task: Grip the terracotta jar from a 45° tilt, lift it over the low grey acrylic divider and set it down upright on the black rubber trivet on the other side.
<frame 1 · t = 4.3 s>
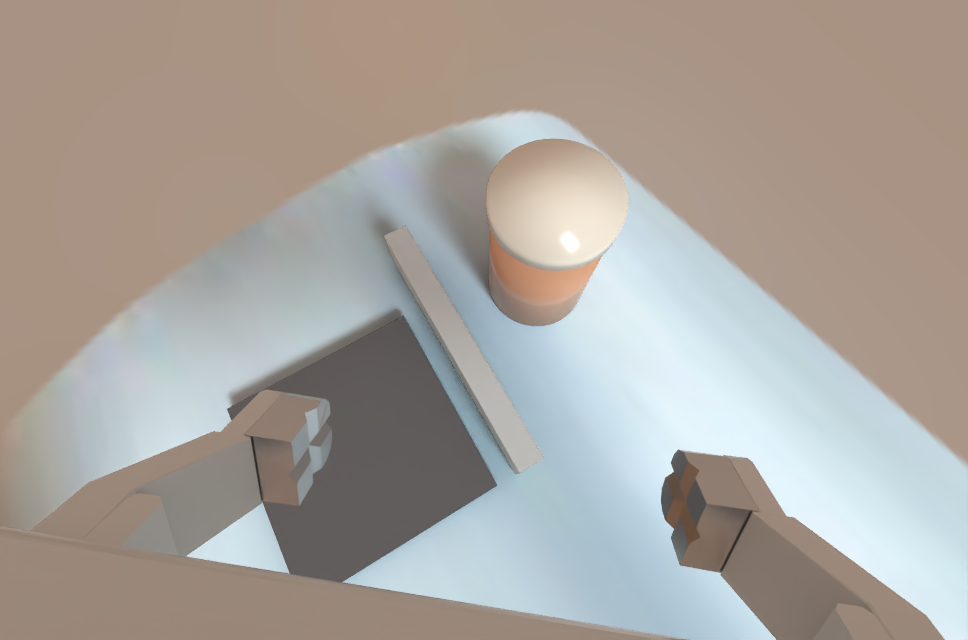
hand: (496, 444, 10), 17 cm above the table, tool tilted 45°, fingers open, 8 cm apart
trivet: (361, 446, 27), on the table
jar: (534, 282, 31), on the table
divider: (460, 355, 29), on the table
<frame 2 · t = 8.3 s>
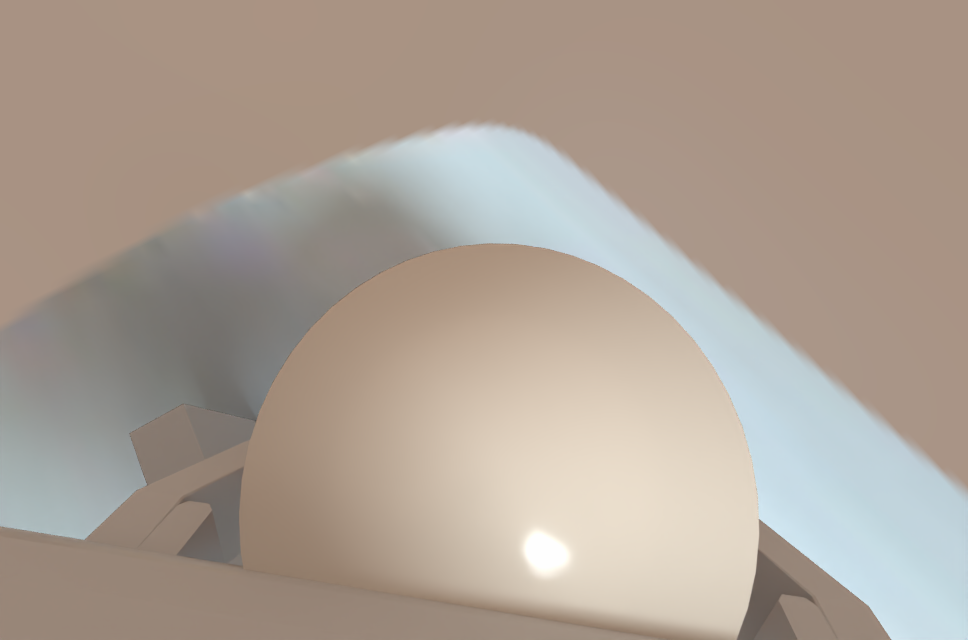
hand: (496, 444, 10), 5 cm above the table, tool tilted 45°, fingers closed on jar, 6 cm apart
jar: (490, 473, 15), on the table, touching gripper
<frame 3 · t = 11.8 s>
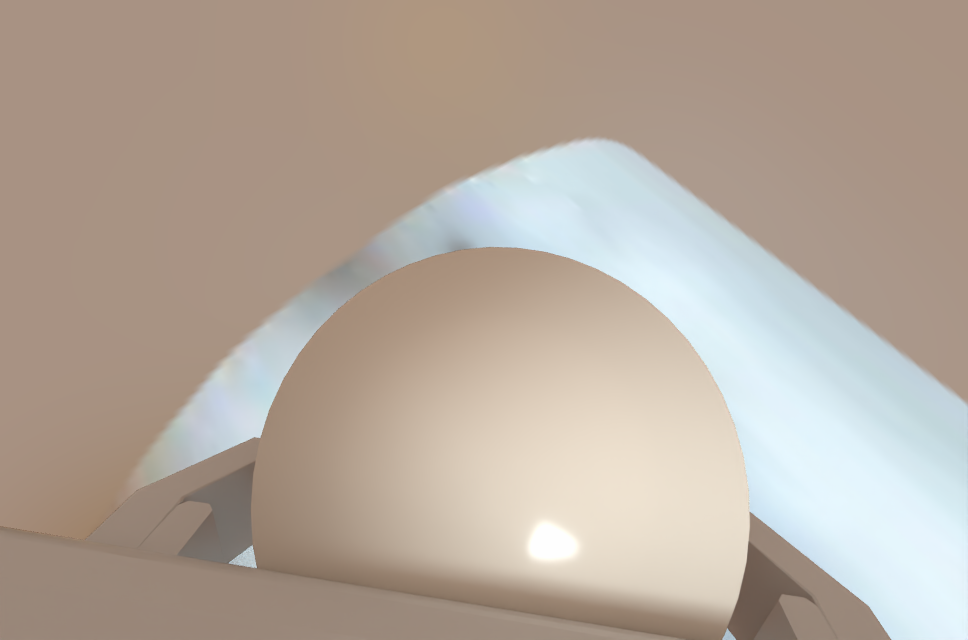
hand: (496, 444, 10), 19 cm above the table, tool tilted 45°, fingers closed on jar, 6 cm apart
jar: (491, 470, 16), point 14 cm above the table, touching gripper
when the fingers open (8 cm above the table, at t = 15.2 s): jar drops 1 cm, resting on trivet.
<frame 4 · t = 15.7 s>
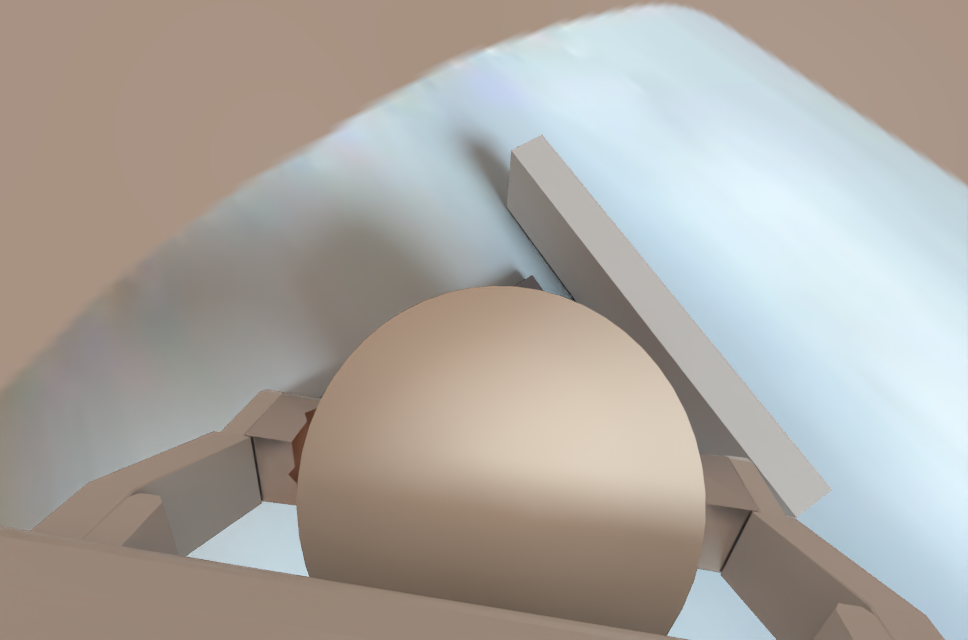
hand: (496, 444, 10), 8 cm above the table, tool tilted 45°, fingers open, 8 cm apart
jar: (492, 471, 17), point 1 cm above the table, touching trivet
divider: (618, 331, 20), on the table
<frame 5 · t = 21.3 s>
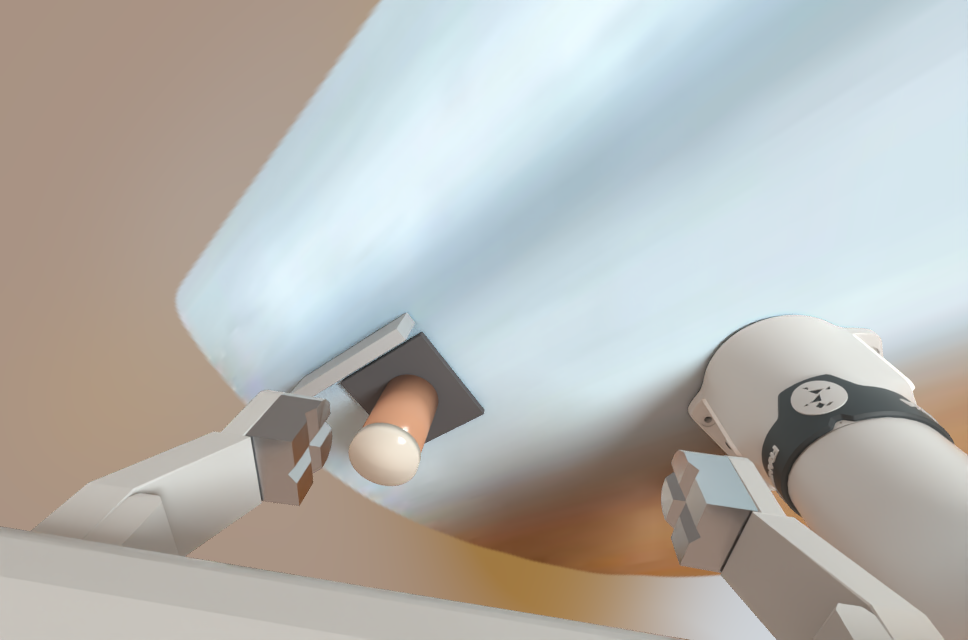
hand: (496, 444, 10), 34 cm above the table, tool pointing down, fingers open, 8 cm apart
trivet: (413, 394, 52), on the table
jar: (411, 398, 51), point 1 cm above the table, touching trivet
divider: (357, 351, 50), on the table
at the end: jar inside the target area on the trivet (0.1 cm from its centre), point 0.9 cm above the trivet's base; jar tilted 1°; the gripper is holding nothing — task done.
